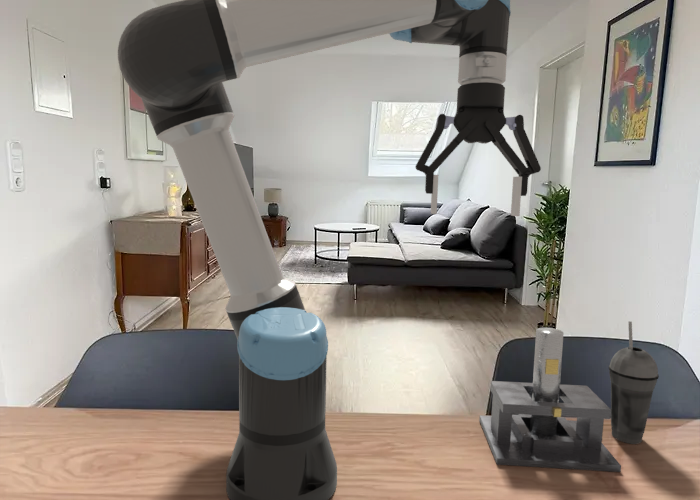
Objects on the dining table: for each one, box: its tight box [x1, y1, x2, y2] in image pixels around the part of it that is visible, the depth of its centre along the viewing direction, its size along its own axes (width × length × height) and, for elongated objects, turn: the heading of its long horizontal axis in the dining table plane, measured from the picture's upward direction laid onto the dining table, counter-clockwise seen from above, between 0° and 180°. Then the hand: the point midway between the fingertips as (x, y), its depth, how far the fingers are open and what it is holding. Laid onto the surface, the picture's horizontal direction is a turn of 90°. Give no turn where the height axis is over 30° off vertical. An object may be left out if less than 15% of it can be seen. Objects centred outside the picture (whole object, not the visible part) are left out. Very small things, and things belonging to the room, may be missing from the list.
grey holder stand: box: [478, 380, 622, 473], centre depth 80 cm, size 18×14×8 cm
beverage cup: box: [608, 321, 660, 445], centre depth 82 cm, size 7×7×20 cm
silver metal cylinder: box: [530, 327, 564, 436], centre depth 78 cm, size 4×4×18 cm
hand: (474, 214), depth 83 cm, fingers open, 13 cm apart
